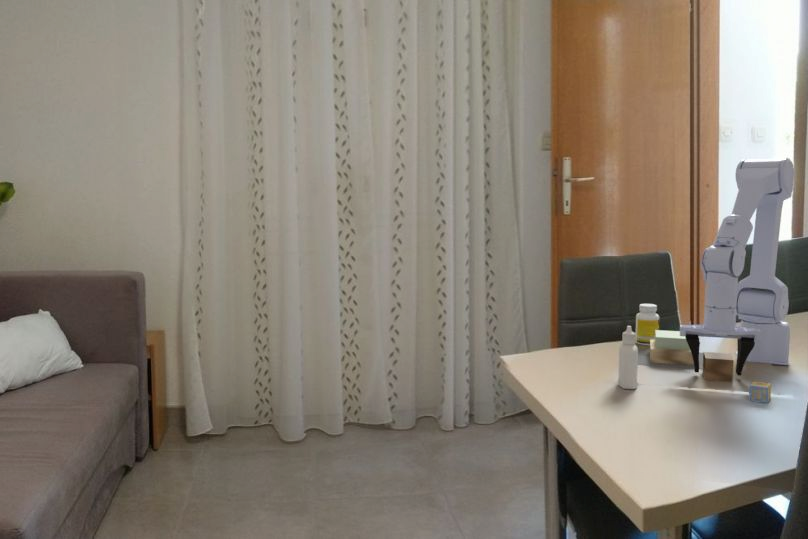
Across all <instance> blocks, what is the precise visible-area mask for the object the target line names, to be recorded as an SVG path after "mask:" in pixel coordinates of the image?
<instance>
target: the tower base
mask: <svg viewBox="0 0 808 539" xmlns="http://www.w3.org/2000/svg"><path fill="white" fill-rule="evenodd" d="M649 349H650V362H651V363H666V364H680V365H694V361H693V357H692V353H691V350H676V349H660V348H656V347H655V340H652V339H650V345H649Z"/></svg>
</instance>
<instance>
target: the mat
mask: <svg viewBox="0 0 808 539" xmlns="http://www.w3.org/2000/svg"><path fill="white" fill-rule="evenodd" d="M638 366H649V367H660V368H661V367H663V368H678V369H688V370H689V369H690V370H694V365H680V364H666V363H651V362H650V348H638ZM699 370H703V352H699Z"/></svg>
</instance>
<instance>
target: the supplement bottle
mask: <svg viewBox="0 0 808 539" xmlns="http://www.w3.org/2000/svg"><path fill="white" fill-rule="evenodd" d="M657 311H658V305H657V304H654V303H640V304H639V312H638V313H636V315H635V332H634V333H635V334H636V337H635V344H639V345H644V346H650V339H652V340H655V330H660V315H659V314H658V313H656V312H657Z"/></svg>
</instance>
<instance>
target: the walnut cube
mask: <svg viewBox="0 0 808 539" xmlns="http://www.w3.org/2000/svg"><path fill="white" fill-rule="evenodd" d="M702 353H703V369H702V376H703V379H704V380H706V381H716V382H729V383H730V382H731V383H733V380H734V378H733V377H734V358H733V356H732V354H731V353H725V352H711V351H709V352H708V351H703V352H702Z"/></svg>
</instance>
